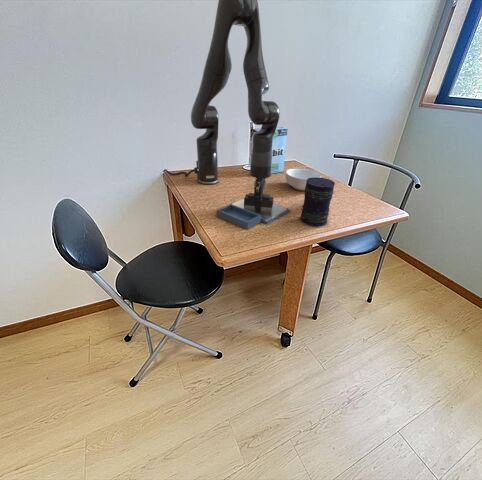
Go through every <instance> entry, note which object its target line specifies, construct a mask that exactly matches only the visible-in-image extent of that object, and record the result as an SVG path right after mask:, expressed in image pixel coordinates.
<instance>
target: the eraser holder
mask: <svg viewBox="0 0 482 480" xmlns="http://www.w3.org/2000/svg"><path fill="white" fill-rule="evenodd" d="M229 204H230V205H229ZM229 204H226V205H227V206H226V205H225V206H223V207H220V208H218V209H216V217H217V218H220V219H222V220H224V221H227V222H229V223H231V224H234V225H236V226H239V227H241V228H243V229H245V230H248V229H250V228H253V227H254V226H256V225H258V224H260V223H262V222H261V215H259V214H256V213H254V212H251V211H248V210H246V209H243V208H241V207H238V206H235V205H233V204H231V203H229Z"/></svg>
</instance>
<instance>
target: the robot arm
mask: <svg viewBox="0 0 482 480" xmlns="http://www.w3.org/2000/svg"><path fill="white" fill-rule="evenodd" d="M260 17H261V16H260V9H259V1H258V0H218V1H217V7H216V14H215V20H214V26H213V31H212V36H211V41H210V45H209V49H208V53H207V56H206V60H205V64H204V68H203V72H202V76H201V81H200V84H199V89H198V92H197V94H196V96H195V100H194V102H193V106H192V108H191V112H190V123H191V125H192V127H193V128H194V129H196V130H205V131H204V133H203V134H201V135H199V136H198V137H197V138H196V139H195V141H196V155H197V157H196V158H197V160H196V161H195V162H196V166H195V167H193V169H191V170H190V171H188V172H186V171H180V172H179V171H178V172H175V173H174V172H173V173H172V172H170V171H168V169H167V168H166V169H165V168H164V170H162V172H163V173H165V172H166V174H168V175H170V176H178V175H181V174H182V175H183V174H184V176H185V177H188V176H189V175H190V174H191V173H194V174H195V175H196V180H197V181H198V183H199V184H201V185H216V184H217V183H219V164H218V163H219V162H218V159H219V158H218V156H219V155H218V140H219V128H220V127H219V126H220V125H219V124H220V123H219V121H220V120H219V112H218V109H217V108H216V106H214V105H210V104H211V102H213V100H214V99H215V98H217V96H218V95H219V94H220V93H221V92H222V91H223V90H224V89H225V88H226V86H227V84H228V81H229V78H230V75H231V71H232V68H233V63H232V57H231V53H230V48H229V38H230V34H231V31H232V28H233V26H239V27H243V29H244V32H245V37H246V47H245V53H244V57H243V61H242V70H243V75H244V80H245V84H246V85H245V86H246V88H247V114H248V118H249V120H250V121H251V123H252V124H253V125H255V126H261V127H260V128H259V129H260V130H259V131H257V132H255V133H254V134H253V141H252V154H251V153H250V162H251V171H250V170H249V175H250V176H251V177H253V178H255V180H254V181H253V186H254V187H253V193H254V200H255V209H258V210H260V209H261V200H262V194H265V193H264V191H265V190H266V184H267V183H266V182H267V180H266V179H269V178H270V177H271V175H272V174H271V165H272V143H273V137H274V134H275V131H276V128H277V127H278V124H279V121H280V116H281V114H280V107H279V105H278V104H277V102H275V101H273V100H263V95H265V94H267V93H268V91H269V89H270V83H269V78H268V75H267V70H266V65H265V61H264V53H263V45H262V30H261V19H260ZM257 196H260V197H257Z"/></svg>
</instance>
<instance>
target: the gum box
mask: <svg viewBox="0 0 482 480" xmlns="http://www.w3.org/2000/svg"><path fill="white" fill-rule="evenodd" d="M260 129H261V128H252V129H251V139H250V141H251V142H250V155H251V154H252V141H253V134H254V133H255V132H257V131H259V130H260ZM288 129H289V128H287V127H284V126H281V127H280V126H279V127H278V126H277V128H276V131H275V134H274V137H273V143H272V165H271V175H272V174H278V173H279V174H280V173H284V168H285V159H286V150H287V149H286V148H287V137H288ZM249 163H250V168H249V172H250V171H251V161H250V162H249Z"/></svg>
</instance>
